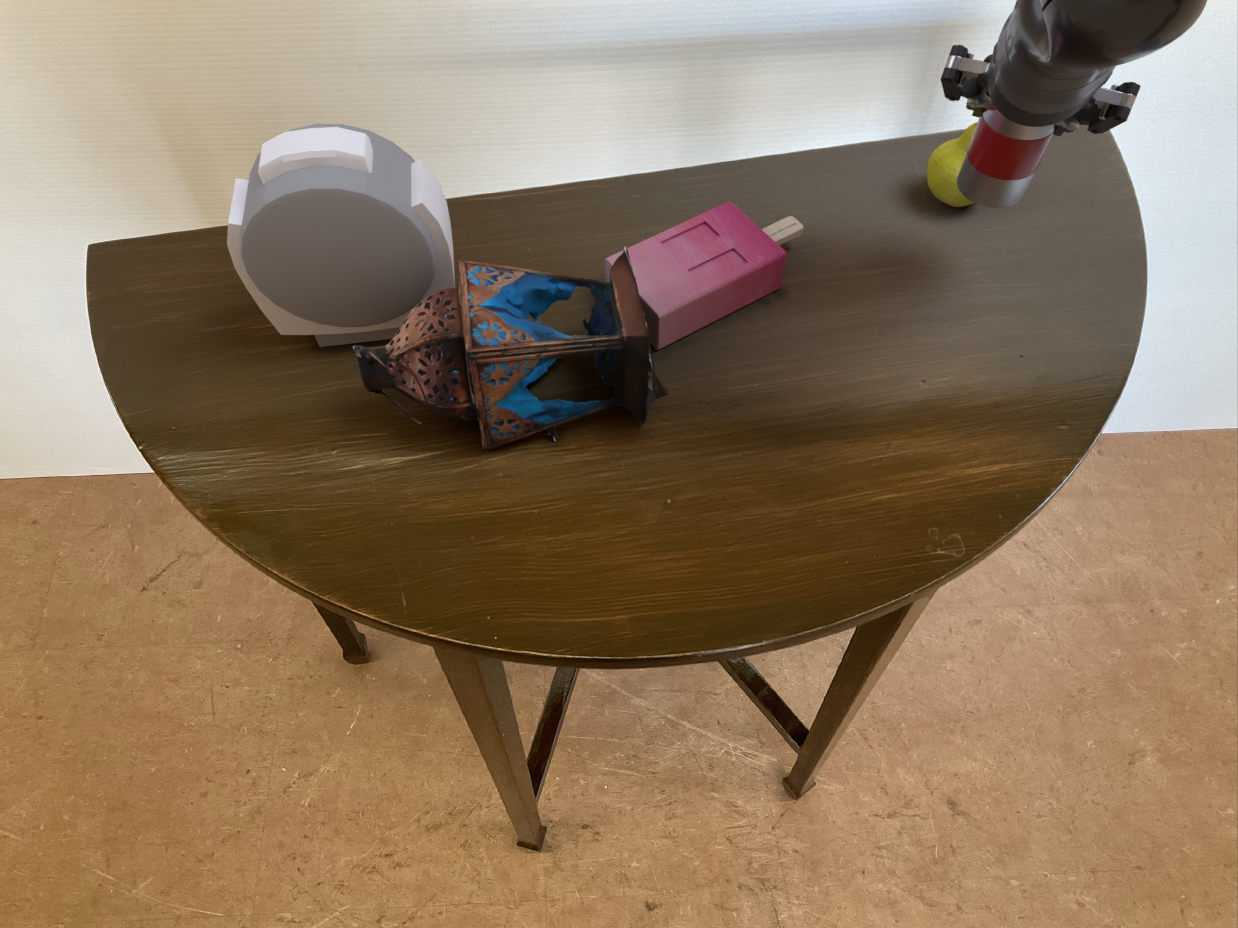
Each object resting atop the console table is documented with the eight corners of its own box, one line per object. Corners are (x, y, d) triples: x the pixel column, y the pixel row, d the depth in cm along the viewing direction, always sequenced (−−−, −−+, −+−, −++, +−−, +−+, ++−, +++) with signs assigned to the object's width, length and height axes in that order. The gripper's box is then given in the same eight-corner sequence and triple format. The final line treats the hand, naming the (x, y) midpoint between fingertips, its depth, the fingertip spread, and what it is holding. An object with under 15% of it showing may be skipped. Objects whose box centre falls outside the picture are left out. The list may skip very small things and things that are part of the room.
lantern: (642, 409, 84) (385, 444, 81) (626, 240, 80) (353, 270, 77) (681, 447, 69) (365, 492, 65) (664, 240, 65) (324, 277, 61)
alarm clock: (466, 280, 86) (424, 97, 69) (469, 343, 81) (425, 162, 65) (285, 300, 85) (198, 119, 68) (278, 365, 80) (182, 188, 63)
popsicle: (831, 231, 82) (658, 316, 76) (822, 268, 86) (657, 352, 80) (771, 179, 86) (603, 256, 81) (765, 217, 90) (605, 293, 85)
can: (1039, 190, 77) (1088, 88, 69) (995, 218, 75) (1040, 117, 67) (985, 156, 80) (1026, 54, 72) (941, 183, 78) (978, 81, 70)
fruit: (932, 225, 89) (969, 123, 79) (908, 183, 93) (940, 81, 83) (994, 215, 90) (1039, 113, 80) (968, 174, 94) (1007, 72, 84)
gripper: (1193, 18, 55) (1126, 88, 71) (966, -26, 58) (951, 50, 74) (1143, 137, 57) (1089, 179, 72) (926, 87, 60) (919, 138, 76)
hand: (1019, 114), depth 73 cm, fingers closed on can, 6 cm apart
